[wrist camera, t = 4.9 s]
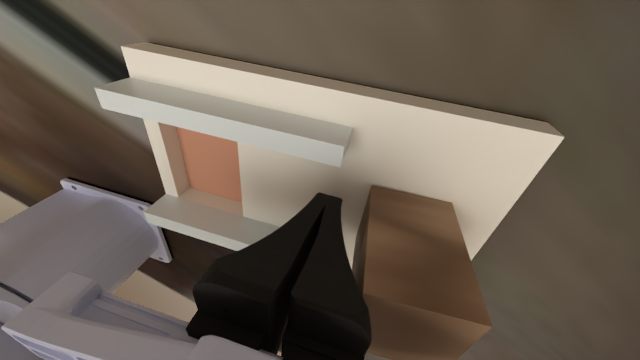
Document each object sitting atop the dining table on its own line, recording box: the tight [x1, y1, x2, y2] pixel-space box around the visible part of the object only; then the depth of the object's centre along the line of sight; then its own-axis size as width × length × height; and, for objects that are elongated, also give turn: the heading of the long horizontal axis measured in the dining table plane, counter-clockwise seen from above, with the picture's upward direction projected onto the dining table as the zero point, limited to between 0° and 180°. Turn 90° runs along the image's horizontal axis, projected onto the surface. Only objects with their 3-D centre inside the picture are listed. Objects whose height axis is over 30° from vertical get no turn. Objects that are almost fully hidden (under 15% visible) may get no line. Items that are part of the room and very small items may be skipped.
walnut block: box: [352, 185, 492, 360], centre depth 12 cm, size 4×4×6 cm
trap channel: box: [94, 42, 565, 269], centre depth 15 cm, size 20×12×4 cm, turn 83°
